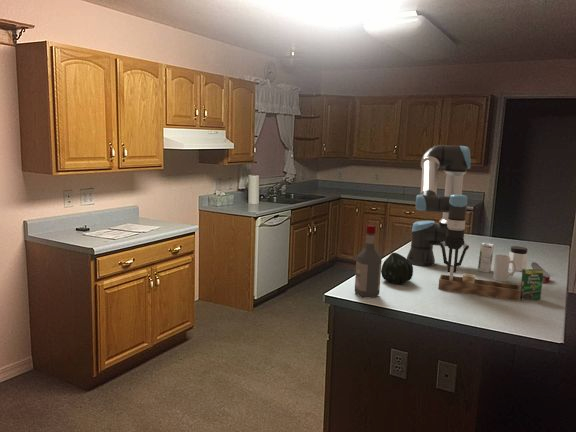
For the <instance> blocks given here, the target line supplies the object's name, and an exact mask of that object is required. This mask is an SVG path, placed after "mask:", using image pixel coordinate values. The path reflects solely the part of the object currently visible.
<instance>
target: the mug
mask: <svg viewBox="0 0 576 432" xmlns="http://www.w3.org/2000/svg"><path fill="white" fill-rule="evenodd" d="M509 263H512V264H513V265H514V270H512V272H509V270H510V269H509ZM493 265H494V266H493V281H495V282H507V281H508V277H513V276H514V275H515V273H516V272H517V271H516V263H515V260H512V261H511V260H510V256H509V255H507V254H506V255H505V254H495V255H494V264H493Z"/></svg>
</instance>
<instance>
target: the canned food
mask: <svg viewBox="0 0 576 432" xmlns="http://www.w3.org/2000/svg"><path fill="white" fill-rule="evenodd" d="M530 266H531V269H541V270H543V279H542V284H547V283H548V284H549V283H550V277H551V276H550V274H549V272H547V271H546V270H545V269H544V268H542V267H541V265H539V264H538V263H537V262H536V261H535V262H534V261H532V262H531V264H530Z"/></svg>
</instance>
